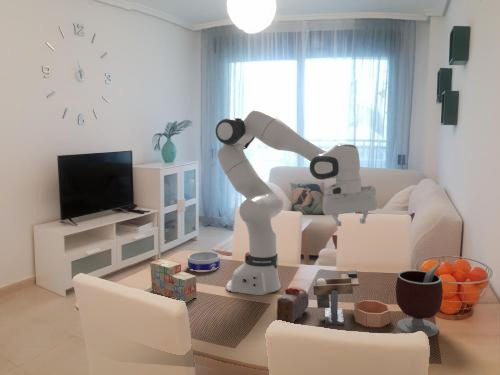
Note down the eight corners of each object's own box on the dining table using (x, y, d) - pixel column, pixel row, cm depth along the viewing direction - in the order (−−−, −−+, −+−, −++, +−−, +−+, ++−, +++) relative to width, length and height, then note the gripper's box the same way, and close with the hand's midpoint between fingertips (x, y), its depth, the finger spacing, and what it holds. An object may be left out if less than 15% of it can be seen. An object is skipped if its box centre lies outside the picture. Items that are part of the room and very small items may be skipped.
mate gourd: (417, 341, 127) (419, 277, 124) (385, 323, 139) (386, 264, 137) (454, 331, 133) (457, 270, 131) (421, 314, 146) (422, 258, 143)
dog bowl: (206, 275, 192) (206, 262, 191) (181, 269, 201) (180, 257, 200) (226, 266, 205) (225, 254, 204) (201, 261, 213) (201, 249, 212)
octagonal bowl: (355, 325, 138) (356, 312, 137) (353, 311, 149) (353, 299, 148) (391, 327, 136) (391, 314, 136) (386, 313, 147) (386, 301, 147)
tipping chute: (315, 309, 142) (313, 285, 141) (316, 290, 159) (314, 269, 159) (361, 307, 139) (360, 283, 138) (357, 288, 157) (355, 267, 156)
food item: (289, 306, 155) (289, 280, 154) (310, 310, 151) (310, 283, 150) (274, 321, 143) (274, 293, 142) (296, 325, 139) (296, 297, 138)
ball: (317, 291, 143) (314, 281, 142) (317, 287, 146) (314, 277, 146) (327, 289, 142) (325, 279, 142) (327, 286, 146) (325, 276, 145)
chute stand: (325, 324, 140) (325, 291, 138) (325, 310, 151) (325, 279, 149) (343, 325, 139) (344, 291, 137) (342, 311, 150) (342, 280, 148)
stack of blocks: (197, 298, 164) (196, 268, 162) (184, 303, 159) (183, 272, 158) (163, 286, 178) (162, 258, 177) (151, 290, 174) (149, 261, 172)
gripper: (371, 184, 160) (373, 220, 161) (319, 189, 157) (322, 226, 158) (379, 185, 154) (380, 223, 155) (325, 190, 150) (327, 228, 151)
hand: (350, 224), depth 156 cm, fingers open, 8 cm apart
